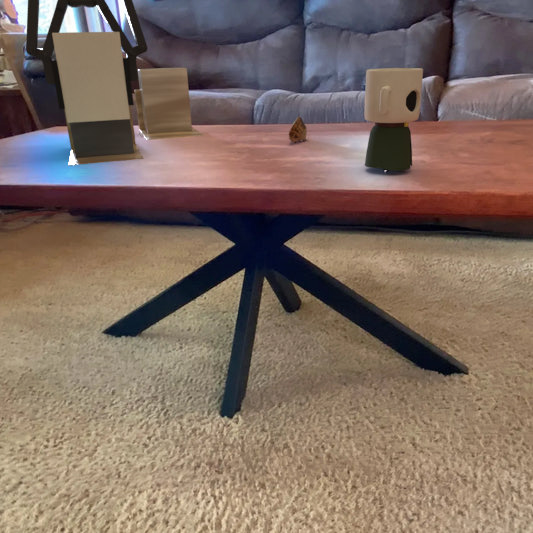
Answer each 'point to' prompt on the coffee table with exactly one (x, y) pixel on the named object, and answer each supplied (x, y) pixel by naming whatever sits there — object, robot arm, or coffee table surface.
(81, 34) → the cream book
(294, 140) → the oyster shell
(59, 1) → the robot arm
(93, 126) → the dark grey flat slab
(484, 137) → the coffee table surface
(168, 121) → the cream rack
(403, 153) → the toy figurine
